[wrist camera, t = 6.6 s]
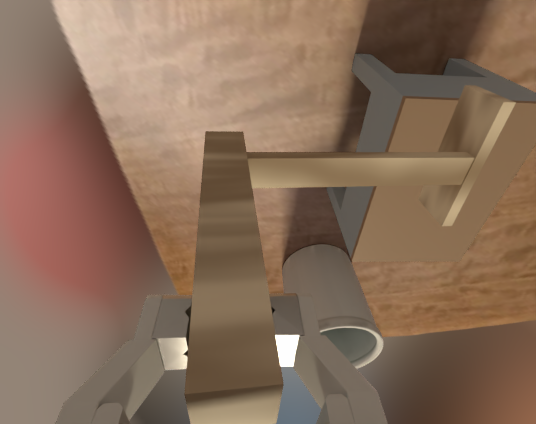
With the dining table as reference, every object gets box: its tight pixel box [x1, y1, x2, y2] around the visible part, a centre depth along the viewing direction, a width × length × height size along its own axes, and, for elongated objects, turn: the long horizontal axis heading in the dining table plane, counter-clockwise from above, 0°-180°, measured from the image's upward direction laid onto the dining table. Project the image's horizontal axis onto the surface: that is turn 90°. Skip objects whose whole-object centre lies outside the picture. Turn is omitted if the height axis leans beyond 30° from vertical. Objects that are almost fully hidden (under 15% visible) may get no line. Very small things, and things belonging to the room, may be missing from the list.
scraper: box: [185, 85, 516, 424], centre depth 16 cm, size 9×18×16 cm, turn 86°
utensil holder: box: [282, 244, 383, 369], centre depth 56 cm, size 15×15×18 cm
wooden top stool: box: [327, 53, 536, 262], centre depth 39 cm, size 20×14×16 cm
